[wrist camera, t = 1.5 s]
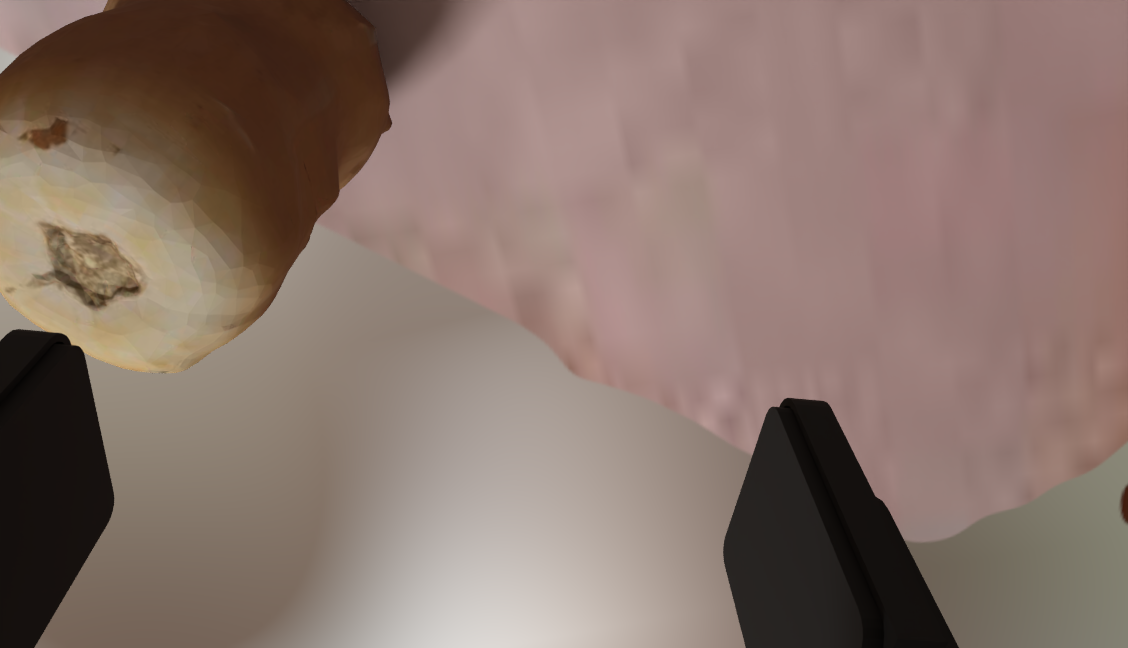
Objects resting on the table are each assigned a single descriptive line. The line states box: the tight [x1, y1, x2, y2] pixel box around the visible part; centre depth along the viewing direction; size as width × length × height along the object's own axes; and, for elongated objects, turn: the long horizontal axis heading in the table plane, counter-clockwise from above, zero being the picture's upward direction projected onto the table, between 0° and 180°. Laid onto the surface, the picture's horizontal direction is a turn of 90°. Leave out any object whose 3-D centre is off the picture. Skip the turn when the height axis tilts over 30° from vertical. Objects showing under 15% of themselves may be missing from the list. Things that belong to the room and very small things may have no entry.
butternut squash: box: [0, 0, 392, 373], centre depth 36 cm, size 14×13×25 cm
